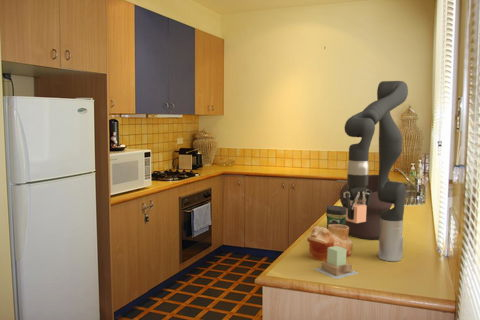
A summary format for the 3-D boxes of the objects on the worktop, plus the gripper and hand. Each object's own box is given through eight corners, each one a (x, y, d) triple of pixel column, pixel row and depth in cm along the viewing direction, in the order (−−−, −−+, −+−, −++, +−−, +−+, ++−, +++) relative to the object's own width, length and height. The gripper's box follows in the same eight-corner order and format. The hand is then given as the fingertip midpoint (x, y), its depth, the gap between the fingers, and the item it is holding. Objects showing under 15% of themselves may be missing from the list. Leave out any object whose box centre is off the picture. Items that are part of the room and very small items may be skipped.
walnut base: (336, 266, 182) (336, 259, 182) (351, 272, 176) (351, 264, 175) (321, 269, 178) (321, 262, 178) (336, 276, 171) (336, 268, 171)
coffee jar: (348, 244, 218) (349, 205, 216) (343, 248, 211) (344, 208, 209) (328, 241, 223) (329, 203, 221) (322, 245, 216) (324, 206, 214)
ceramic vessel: (297, 261, 192) (298, 225, 191) (332, 248, 211) (333, 216, 209) (324, 269, 182) (326, 232, 181) (359, 255, 201) (360, 222, 199)
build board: (336, 266, 185) (336, 264, 185) (358, 276, 175) (359, 272, 175) (313, 272, 179) (314, 269, 178) (336, 282, 169) (336, 278, 168)
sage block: (345, 264, 176) (346, 249, 175) (336, 266, 173) (337, 251, 172) (336, 260, 180) (336, 245, 179) (327, 262, 177) (327, 247, 176)
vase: (340, 226, 252) (342, 172, 249) (392, 230, 244) (395, 175, 241) (335, 238, 227) (337, 178, 224) (392, 244, 219) (396, 182, 215)
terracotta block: (355, 218, 173) (355, 203, 172) (365, 221, 169) (366, 205, 168) (346, 220, 170) (346, 204, 169) (356, 223, 166) (357, 206, 165)
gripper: (352, 175, 160) (350, 223, 162) (379, 172, 168) (376, 218, 170) (336, 172, 166) (334, 218, 168) (362, 170, 175) (361, 214, 176)
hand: (356, 218), depth 169 cm, fingers closed on terracotta block, 5 cm apart
